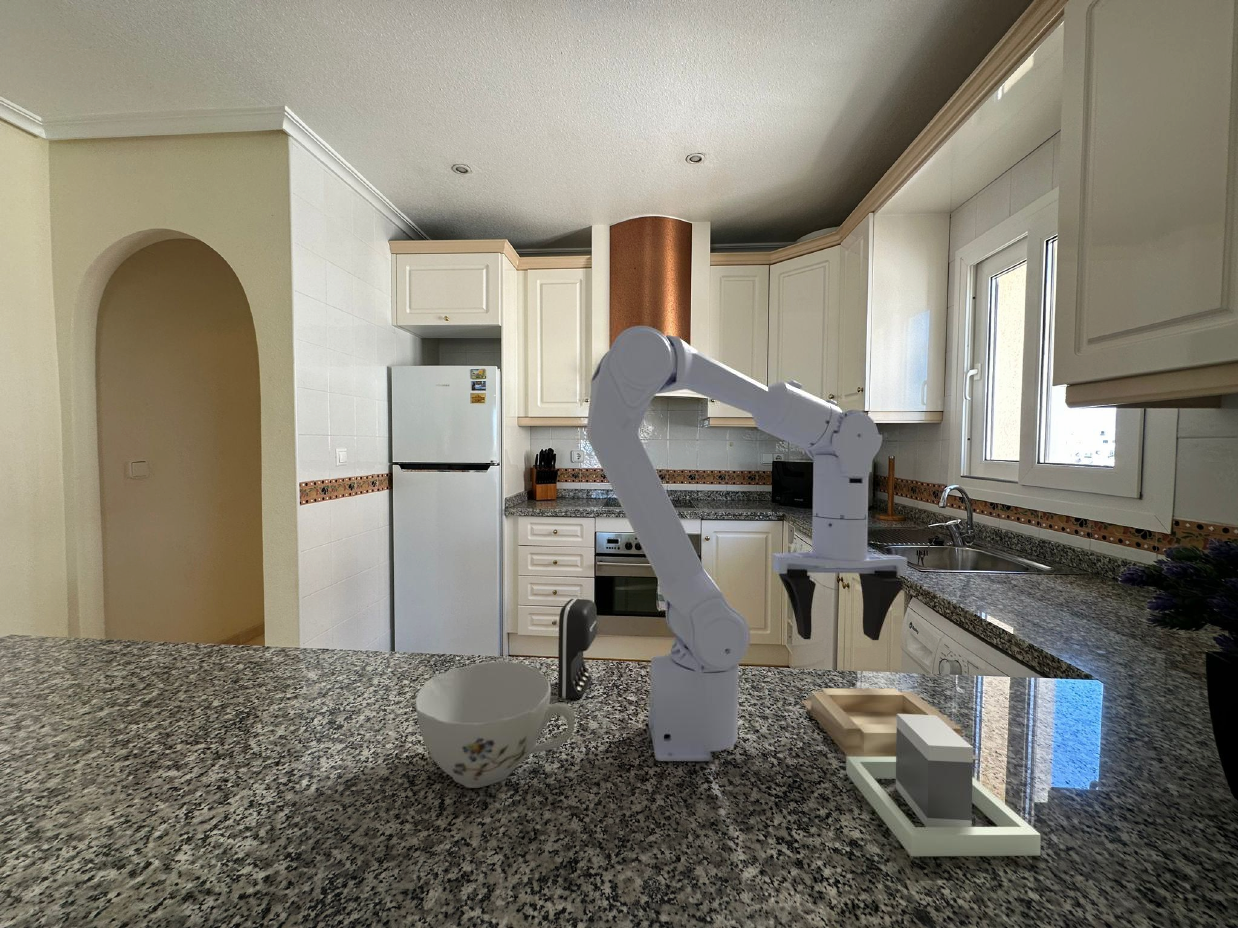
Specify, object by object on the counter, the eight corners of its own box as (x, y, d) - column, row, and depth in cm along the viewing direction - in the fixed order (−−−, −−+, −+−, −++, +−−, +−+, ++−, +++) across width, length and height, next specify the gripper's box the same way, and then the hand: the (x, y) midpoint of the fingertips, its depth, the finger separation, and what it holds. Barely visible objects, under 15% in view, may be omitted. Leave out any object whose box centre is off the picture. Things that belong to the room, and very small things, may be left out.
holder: (849, 769, 48) (850, 738, 48) (801, 708, 60) (801, 684, 60) (979, 769, 49) (979, 738, 49) (905, 708, 61) (905, 684, 61)
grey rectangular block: (927, 832, 39) (928, 745, 39) (895, 791, 44) (896, 713, 44) (971, 835, 39) (973, 747, 39) (934, 793, 44) (935, 715, 44)
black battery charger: (586, 703, 61) (587, 610, 61) (556, 700, 61) (558, 608, 61) (598, 679, 68) (599, 596, 68) (571, 676, 68) (572, 594, 68)
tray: (911, 868, 36) (911, 835, 36) (846, 783, 46) (846, 756, 46) (1040, 867, 37) (1040, 834, 37) (948, 782, 47) (948, 756, 47)
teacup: (384, 808, 42) (386, 714, 42) (449, 729, 54) (450, 657, 54) (558, 824, 40) (560, 726, 40) (584, 739, 53) (585, 665, 53)
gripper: (883, 514, 60) (881, 625, 60) (765, 512, 60) (763, 624, 60) (919, 521, 53) (917, 647, 53) (785, 519, 53) (783, 645, 53)
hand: (837, 636), depth 56 cm, fingers open, 7 cm apart
